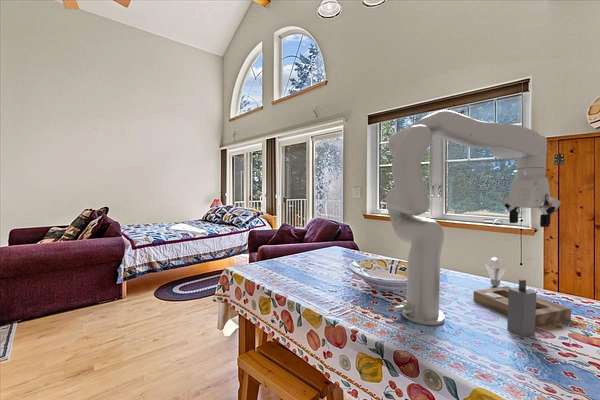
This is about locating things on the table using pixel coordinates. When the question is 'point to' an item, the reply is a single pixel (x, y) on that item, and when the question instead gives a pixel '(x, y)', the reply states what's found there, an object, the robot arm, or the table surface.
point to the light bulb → (495, 270)
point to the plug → (521, 310)
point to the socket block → (544, 308)
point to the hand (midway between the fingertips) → (528, 224)
